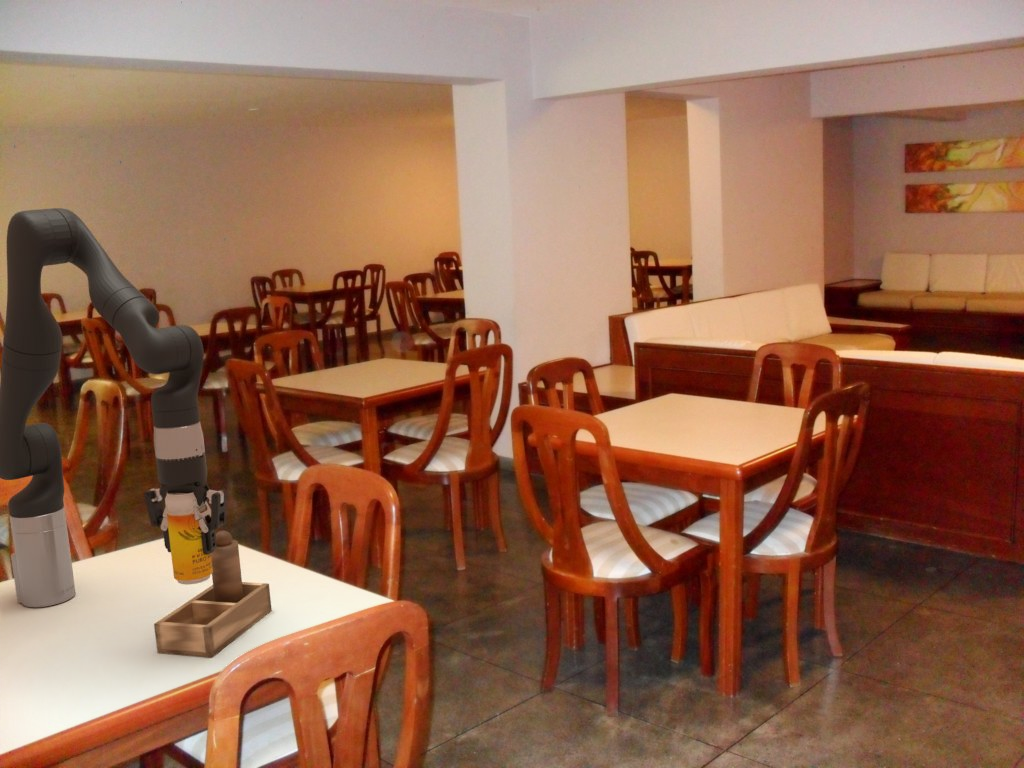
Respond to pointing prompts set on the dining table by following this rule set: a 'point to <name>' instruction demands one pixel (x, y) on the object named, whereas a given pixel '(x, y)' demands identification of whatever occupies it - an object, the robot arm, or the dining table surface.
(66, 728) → the dining table surface
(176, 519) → the beer can
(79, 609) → the dining table surface
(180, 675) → the dining table surface
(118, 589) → the dining table surface
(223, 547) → the caddy
